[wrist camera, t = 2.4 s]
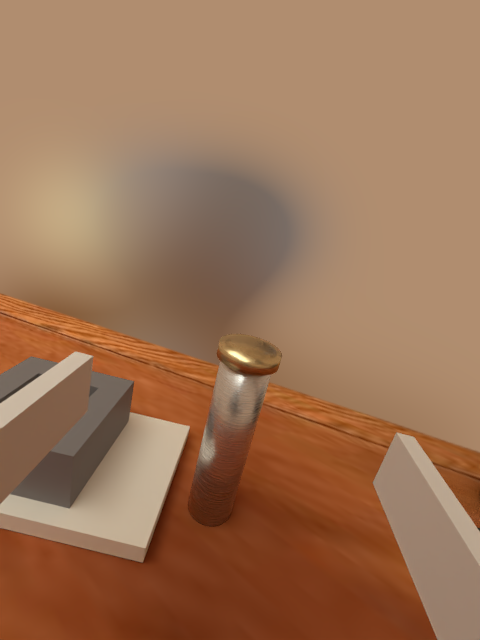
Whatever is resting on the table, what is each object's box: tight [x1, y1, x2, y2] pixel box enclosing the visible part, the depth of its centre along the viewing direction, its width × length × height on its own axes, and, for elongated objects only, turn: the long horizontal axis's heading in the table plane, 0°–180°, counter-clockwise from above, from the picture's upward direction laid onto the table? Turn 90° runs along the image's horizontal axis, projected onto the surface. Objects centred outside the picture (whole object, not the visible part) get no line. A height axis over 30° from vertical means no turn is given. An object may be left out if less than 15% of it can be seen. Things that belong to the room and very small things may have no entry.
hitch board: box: [0, 357, 190, 563], centre depth 29 cm, size 18×14×6 cm
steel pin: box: [188, 334, 282, 526], centre depth 26 cm, size 5×5×16 cm
